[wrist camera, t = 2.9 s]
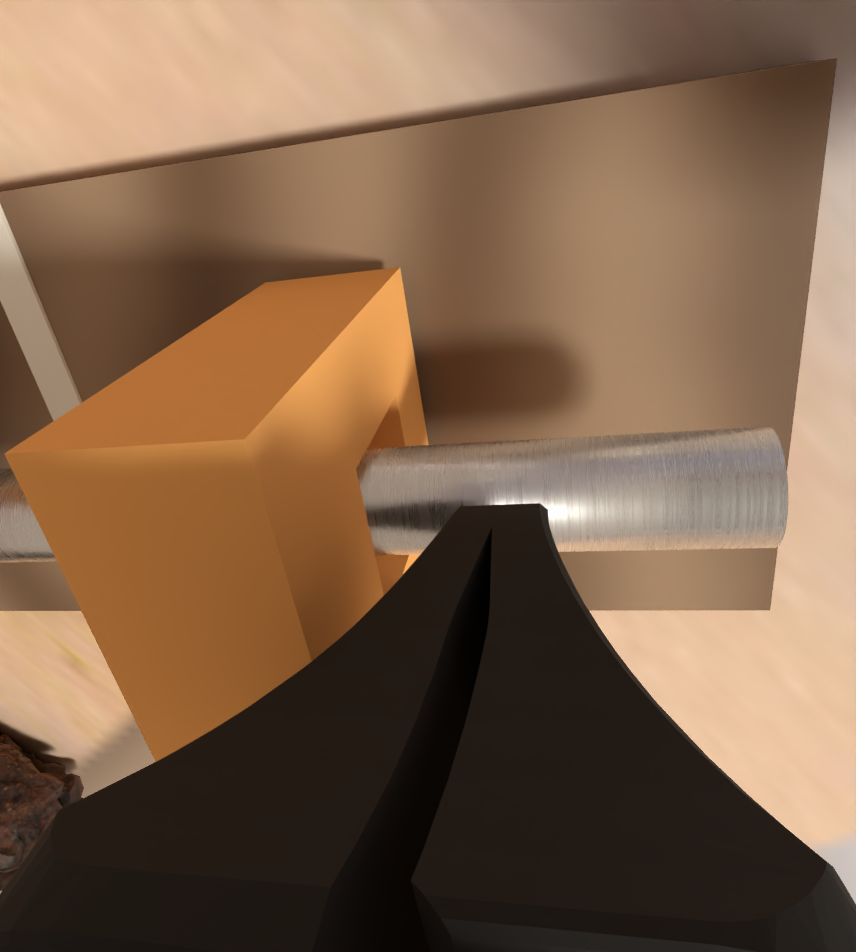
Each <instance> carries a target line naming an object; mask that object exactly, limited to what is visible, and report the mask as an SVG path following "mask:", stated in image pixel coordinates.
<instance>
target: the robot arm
mask: <svg viewBox="0 0 856 952" xmlns="http://www.w3.org/2000/svg"><path fill="white" fill-rule="evenodd" d="M0 952H856V904H855V902H854V901H853V899H852V898H851V896H850V894H849V892H848V891H847V889H846V887H845V886H844V884H843V882H842V881H841V879H840V877H839V876H838V874H837V872H836V871H835V869H834V868H833V866H831V865H830V864H829V863H827V862H826V861H825V860H824V859H823V858H821V857H820V856H819V855H818V854H817V853H815V852H814V851H813V850H812V849H810V848H809V847H808V846H807V845H806V844H804V843H803V842H802V841H801V840H800V839H798V838H797V837H796V836H795V835H794V834H792V833H791V832H790V831H789V830H788V829H786V828H785V827H784V826H783V825H782V824H781V823H779V822H778V821H777V820H776V819H775V818H774V817H773V816H771V815H770V814H769V813H768V812H767V811H766V810H765V809H763V808H762V807H761V806H760V805H759V804H758V803H757V802H755V801H754V800H753V799H752V798H751V797H750V796H749V795H748V794H747V793H745V792H744V791H743V790H742V789H741V788H740V787H739V786H738V785H737V784H736V783H735V782H734V781H733V780H732V779H731V778H730V777H729V776H727V775H726V774H725V773H724V772H723V771H722V770H721V769H720V768H719V767H718V766H717V765H716V764H715V763H714V762H713V761H712V760H711V759H709V758H708V757H707V756H706V755H705V753H704V752H703V751H702V750H701V749H700V748H699V747H698V746H697V745H696V744H695V743H694V742H693V741H692V740H691V739H690V738H689V736H688V735H687V734H686V733H685V732H684V731H683V730H682V729H681V728H680V727H679V726H678V725H677V724H676V723H675V722H674V721H673V720H672V718H671V717H670V716H669V715H668V714H667V713H666V712H665V711H664V710H663V709H662V708H661V707H660V706H659V705H658V704H657V702H656V701H655V700H654V699H653V698H652V697H651V695H650V694H649V693H648V692H647V690H646V689H645V688H644V687H643V686H642V684H641V683H640V682H639V681H638V679H637V678H636V677H635V676H634V675H633V673H632V672H631V671H630V670H629V668H628V667H627V666H626V664H625V663H624V662H623V660H622V659H621V658H620V656H619V655H618V654H617V652H616V651H615V650H614V648H613V647H612V645H611V644H610V642H609V641H608V640H607V638H606V637H605V635H604V634H603V632H602V631H601V629H600V628H599V626H598V625H597V623H596V621H595V620H594V618H593V617H592V615H591V613H590V612H589V610H588V608H587V607H586V605H585V604H584V602H583V600H582V598H581V596H580V595H579V593H578V591H577V589H576V587H575V585H574V583H573V581H572V579H571V577H570V576H569V574H568V572H567V570H566V568H565V566H564V564H563V561H562V559H561V557H560V555H559V552H558V550H557V547H556V544H555V542H554V539H553V536H552V533H551V530H550V526H549V518H548V509H546V508H545V507H544V506H543V505H542V504H540V503H532V504H505V505H478V506H460V507H459V508H458V509H457V510H456V511H455V512H454V514H453V515H452V516H451V517H450V519H449V520H448V521H447V522H446V524H445V525H444V526H443V527H442V529H441V530H440V531H439V532H438V534H437V535H436V536H435V537H434V539H433V540H432V541H431V542H430V544H429V545H428V546H427V547H426V548H425V550H424V551H423V552H422V553H421V555H420V556H419V557H418V558H417V559H416V560H415V561H414V563H413V564H412V565H411V566H410V567H409V568H408V569H407V571H406V572H405V573H404V574H403V575H402V576H401V577H400V579H399V580H398V581H397V582H396V583H395V584H394V585H393V586H392V587H391V589H390V590H389V591H388V592H387V593H386V594H385V595H384V596H383V597H382V598H381V599H380V600H379V601H378V602H377V603H376V604H375V605H374V606H373V607H372V608H371V609H370V610H369V611H368V612H367V613H366V614H365V615H364V616H363V617H362V618H361V619H360V620H359V621H358V622H357V623H356V624H355V625H354V626H353V627H352V628H351V629H350V630H348V631H347V632H346V633H345V634H344V635H343V636H342V637H341V638H339V639H338V640H337V641H336V642H335V643H333V644H332V645H331V646H330V647H329V648H327V649H326V650H325V651H324V652H323V653H321V654H320V655H319V656H318V657H317V658H315V659H314V660H313V661H312V662H310V663H309V664H308V665H306V666H305V667H304V668H303V669H301V670H300V671H298V672H297V673H296V674H294V675H293V676H291V677H290V678H289V679H287V680H286V681H284V682H283V683H282V684H280V685H279V686H277V687H276V688H274V689H273V690H272V691H270V692H269V693H267V694H266V695H265V696H263V697H262V698H260V699H259V700H258V701H256V702H255V703H253V704H252V705H251V706H249V707H248V708H246V709H244V710H243V711H241V712H240V713H238V714H237V715H235V716H233V717H232V718H230V719H229V720H227V721H225V722H224V723H222V724H221V725H219V726H217V727H216V728H214V729H213V730H211V731H209V732H208V733H206V734H204V735H202V736H201V737H199V738H197V739H196V740H194V741H192V742H190V743H189V744H187V745H185V746H184V747H182V748H180V749H178V750H177V751H175V752H173V753H171V754H169V755H168V756H166V757H164V758H162V759H160V760H158V761H157V762H155V763H153V764H151V765H149V766H147V767H145V768H143V769H141V770H139V771H137V772H136V773H133V774H131V775H129V776H127V777H125V778H123V779H121V780H119V781H117V782H115V783H113V784H111V785H109V786H107V787H106V788H103V789H102V790H99V791H98V792H95V793H94V794H92V795H90V796H88V797H86V798H84V799H82V800H79V801H77V802H75V803H73V804H71V805H69V806H67V807H64V808H62V809H60V810H59V811H58V813H57V814H56V815H55V817H54V818H53V819H52V821H51V822H50V823H49V825H48V826H47V828H46V829H45V831H44V832H43V833H42V835H41V836H40V838H39V839H38V841H37V842H36V844H35V845H34V846H33V848H32V849H31V851H30V852H29V854H28V855H27V856H26V858H25V859H24V861H23V862H22V864H21V865H20V866H19V868H18V869H17V871H16V872H15V874H14V875H13V877H12V878H11V879H10V881H9V882H8V884H7V885H6V887H5V888H4V889H3V891H2V892H1V894H0Z"/></svg>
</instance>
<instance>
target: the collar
mask: <svg viewBox="0 0 856 952" xmlns="http://www.w3.org/2000/svg"><path fill="white" fill-rule="evenodd" d="M422 445H429V444H428V438H427V432H426V425H425V419H424V413H423V407H422V400H421V394H420V388H419V382H418V375H417V369H416V363H415V357H414V350H413V344H412V338H411V332H410V325H409V319H408V313H407V307H406V300H405V294H404V288H403V281H402V275H401V269H400V267H397V268H388V269H379V270H371V271H362V272H353V273H344V274H336V275H327V276H318V277H309V278H300V279H292V280H283V281H274V282H265V283H264V284H262V285H261V286H259V287H258V288H256V289H255V290H253V291H252V292H250V293H249V294H247V295H246V296H244V297H243V298H241V299H240V300H238V301H236V302H235V303H233V304H232V305H230V306H229V307H227V308H226V309H224V310H223V311H221V312H220V313H218V314H217V315H215V316H214V317H212V318H211V319H209V320H207V321H206V322H204V323H203V324H201V325H200V326H198V327H197V328H195V329H194V330H192V331H191V332H189V333H188V334H186V335H185V336H183V337H182V338H180V339H178V340H177V341H175V342H174V343H172V344H171V345H169V346H168V347H166V348H165V349H163V350H162V351H160V352H159V353H157V354H156V355H154V356H153V357H151V358H149V359H148V360H146V361H145V362H143V363H142V364H140V365H139V366H137V367H136V368H134V369H133V370H131V371H130V372H128V373H127V374H125V375H124V376H122V377H120V378H119V379H117V380H116V381H114V382H113V383H111V384H110V385H108V386H107V387H105V388H104V389H102V390H101V391H99V392H98V393H96V394H95V395H93V396H91V397H90V398H88V399H87V400H85V401H84V402H82V403H81V404H79V405H78V406H76V407H75V408H73V409H72V410H70V411H69V412H67V413H66V414H64V415H62V416H61V417H59V418H58V419H56V420H55V421H53V422H52V423H50V424H49V425H47V426H46V427H44V428H43V429H41V430H40V431H38V432H37V433H35V434H33V435H32V436H30V437H29V438H27V439H26V440H24V441H23V442H21V443H20V444H18V445H17V446H15V447H14V448H12V449H11V450H9V451H8V452H6V453H4V455H5V457H6V459H7V461H8V463H9V465H10V467H11V469H12V471H13V473H14V475H15V477H16V479H17V481H18V483H19V485H20V487H21V489H22V491H23V493H24V495H25V497H26V499H27V501H28V503H29V505H30V507H31V509H32V511H33V513H34V515H35V517H36V520H37V522H38V524H39V526H40V528H41V530H42V532H43V534H44V536H45V538H46V540H47V542H48V544H49V546H50V548H51V550H52V552H53V554H54V556H55V558H56V560H57V562H58V564H59V566H60V568H61V570H62V572H63V574H64V576H65V578H66V580H67V582H68V584H69V586H70V589H71V591H72V593H73V595H74V597H75V599H76V601H77V603H78V605H79V607H80V609H81V611H82V613H83V615H84V617H85V619H86V621H87V623H88V625H89V627H90V629H91V631H92V633H93V635H94V637H95V639H96V641H97V643H98V645H99V647H100V649H101V651H102V653H103V655H104V658H105V660H106V662H107V664H108V666H109V668H110V670H111V672H112V674H113V676H114V678H115V680H116V682H117V684H118V686H119V688H120V690H121V692H122V694H123V696H124V698H125V700H126V702H127V704H128V706H129V708H130V710H131V712H132V714H133V716H134V718H135V720H136V722H137V724H138V727H139V729H140V731H141V733H142V735H143V737H144V739H145V741H146V743H147V745H148V747H149V748H150V751H151V753H152V755H153V757H154V759H155V761H156V762H157V761H158V760H160V759H162V758H164V757H166V756H168V755H169V754H171V753H173V752H175V751H177V750H178V749H180V748H182V747H184V746H185V745H187V744H189V743H190V742H192V741H194V740H196V739H197V738H199V737H201V736H202V735H204V734H206V733H208V732H209V731H211V730H213V729H214V728H216V727H217V726H219V725H221V724H222V723H224V722H225V721H227V720H229V719H230V718H232V717H233V716H235V715H237V714H238V713H240V712H241V711H243V710H244V709H246V708H248V707H249V706H251V705H252V704H253V703H255V702H256V701H258V700H259V699H260V698H262V697H263V696H265V695H266V694H267V693H269V692H270V691H272V690H273V689H274V688H276V687H277V686H279V685H280V684H282V683H283V682H284V681H286V680H287V679H289V678H290V677H291V676H293V675H294V674H296V673H297V672H298V671H300V670H301V669H303V668H304V667H305V666H306V665H308V664H309V663H310V662H312V661H313V660H314V659H315V658H317V657H318V656H319V655H320V654H321V653H323V652H324V651H325V650H326V649H327V648H329V647H330V646H331V645H332V644H333V643H335V642H336V641H337V640H338V639H339V638H341V637H342V636H343V635H344V634H345V633H346V632H347V631H348V630H350V629H351V628H352V627H353V626H354V625H355V624H356V623H357V622H358V621H359V620H360V619H361V618H362V617H363V616H364V615H365V614H366V613H367V612H368V611H369V610H370V609H371V608H372V607H373V606H374V605H375V604H376V603H377V602H378V601H379V600H380V599H381V598H382V597H383V596H384V595H385V594H386V593H387V592H388V591H389V590H390V589H391V587H392V586H393V585H394V584H395V583H396V582H397V581H398V580H399V579H400V577H401V576H402V575H403V574H404V573H405V572H406V571H407V569H408V568H409V567H410V566H411V565H412V564H413V563H414V561H415V560H416V559H417V558H418V557H419V556H420V555H375V553H374V548H373V544H372V539H371V535H370V530H369V526H368V521H367V516H366V512H365V507H364V503H363V498H362V494H361V489H360V485H359V480H358V476H357V471H356V468H357V466H358V464H359V463H360V461H361V459H362V457H363V455H364V453H365V451H366V450H367V448H385V447H404V446H422Z"/></svg>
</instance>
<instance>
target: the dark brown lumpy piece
mask: <svg viewBox="0 0 856 952" xmlns="http://www.w3.org/2000/svg"><path fill="white" fill-rule="evenodd" d="M83 789H84V788H83V785H82V782H81V779H80V776H77V775H74V774H67V775H66V774H65V767H62V766H60V765H57V764H55V763H48V764H44V763H42V762H41V761H40V760H36V759H35V756H34V755H32V754H28V753H23V749H22V748H20V747H19V746H18V745H17V744H15V743H14V742H13V741H12V739H11V738H10V737H9V736H7V735H6V734H3V735H0V891H3V889H4V888H5V887H6V885H7V884H8V882H9V881H10V879H11V878H12V877H13V875H14V874H15V872H16V871H17V869H18V868H19V866H20V865H21V864H22V862H23V861H24V859H25V858H26V856H27V855H28V854H29V852H30V851H31V849H32V848H33V846H34V845H35V844H36V842H37V841H38V839H39V838H40V836H41V835H42V833H43V832H44V831H45V829H46V828H47V826H48V825H49V823H50V822H51V821H52V819H53V818H54V817H55V815H56V814H57V813H58V811H59V810H60V809H62V808H64V807H67V806H69V805H71V804H73V803H75V802H77V801H79V800H82V799H83V798H81V795H82V792H83Z"/></svg>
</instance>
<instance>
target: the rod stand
mask: <svg viewBox="0 0 856 952" xmlns="http://www.w3.org/2000/svg"><path fill="white" fill-rule="evenodd" d="M836 60H837V59H829V60H820V61H813V62H806V63H800V64H794V65H788V66H781V67H775V68H769V69H763V70H756V71H750V72H744V73H738V74H731V75H725V76H719V77H713V78H707V79H700V80H694V81H688V82H682V83H675V84H669V85H663V86H657V87H650V88H644V89H638V90H632V91H625V92H619V93H613V94H607V95H600V96H594V97H588V98H582V99H575V100H569V101H563V102H557V103H550V104H544V105H538V106H532V107H525V108H519V109H513V110H507V111H500V112H494V113H488V114H482V115H475V116H469V117H463V118H457V119H450V120H444V121H438V122H432V123H425V124H419V125H413V126H407V127H401V128H394V129H388V130H382V131H376V132H369V133H363V134H357V135H351V136H344V137H338V138H332V139H326V140H319V141H313V142H307V143H301V144H294V145H288V146H282V147H276V148H269V149H263V150H257V151H251V152H244V153H238V154H232V155H226V156H219V157H213V158H207V159H201V160H194V161H188V162H182V163H176V164H169V165H163V166H157V167H151V168H144V169H138V170H132V171H126V172H119V173H113V174H107V175H101V176H95V177H88V178H82V179H76V180H70V181H63V182H57V183H51V184H45V185H38V186H32V187H26V188H20V189H13V190H7V191H1V192H0V611H81V609H80V607H79V605H78V603H77V601H76V599H75V597H74V595H73V593H72V591H71V589H70V586H69V584H68V582H67V580H66V578H65V576H64V574H63V572H62V570H61V568H60V566H59V564H58V562H57V560H56V558H55V556H54V554H53V552H52V550H51V548H50V546H49V544H48V542H47V540H46V538H45V536H44V534H43V532H42V530H41V528H40V526H39V524H38V522H37V520H36V517H35V515H34V513H33V511H32V509H31V507H30V505H29V503H28V501H27V499H26V497H25V495H24V493H23V491H22V489H21V487H20V485H19V483H18V481H17V479H16V477H15V475H14V473H13V471H12V469H11V467H10V465H9V463H8V461H7V459H6V457H5V455H4V453H6V452H8V451H9V450H11V449H12V448H14V447H15V446H17V445H18V444H20V443H21V442H23V441H24V440H26V439H27V438H29V437H30V436H32V435H33V434H35V433H37V432H38V431H40V430H41V429H43V428H44V427H46V426H47V425H49V424H50V423H52V422H53V421H55V420H56V419H58V418H59V417H61V416H62V415H64V414H66V413H67V412H69V411H70V410H72V409H73V408H75V407H76V406H78V405H79V404H81V403H82V402H84V401H85V400H87V399H88V398H90V397H91V396H93V395H95V394H96V393H98V392H99V391H101V390H102V389H104V388H105V387H107V386H108V385H110V384H111V383H113V382H114V381H116V380H117V379H119V378H120V377H122V376H124V375H125V374H127V373H128V372H130V371H131V370H133V369H134V368H136V367H137V366H139V365H140V364H142V363H143V362H145V361H146V360H148V359H149V358H151V357H153V356H154V355H156V354H157V353H159V352H160V351H162V350H163V349H165V348H166V347H168V346H169V345H171V344H172V343H174V342H175V341H177V340H178V339H180V338H182V337H183V336H185V335H186V334H188V333H189V332H191V331H192V330H194V329H195V328H197V327H198V326H200V325H201V324H203V323H204V322H206V321H207V320H209V319H211V318H212V317H214V316H215V315H217V314H218V313H220V312H221V311H223V310H224V309H226V308H227V307H229V306H230V305H232V304H233V303H235V302H236V301H238V300H240V299H241V298H243V297H244V296H246V295H247V294H249V293H250V292H252V291H253V290H255V289H256V288H258V287H259V286H261V285H262V284H264V283H265V282H274V281H283V280H292V279H300V278H309V277H318V276H327V275H336V274H344V273H353V272H362V271H371V270H379V269H388V268H397V267H400V269H401V275H402V281H403V288H404V294H405V300H406V307H407V313H408V319H409V325H410V332H411V338H412V344H413V350H414V357H415V363H416V369H417V375H418V382H419V388H420V394H421V400H422V407H423V413H424V419H425V425H426V432H427V438H428V444H429V445H422V446H404V447H385V448H367V450H366V451H365V453H364V455H363V457H362V459H361V461H360V463H359V464H358V466H357V468H356V471H357V476H358V480H359V485H360V489H361V494H362V498H363V503H364V507H365V512H366V516H367V521H368V526H369V530H370V535H371V539H372V544H373V548H374V553H375V555H421V553H422V552H423V551H424V550H425V548H426V547H427V546H428V545H429V544H430V542H431V541H432V540H433V539H434V537H435V536H436V535H437V534H438V532H439V531H440V530H441V529H442V527H443V526H444V525H445V524H446V522H447V521H448V520H449V519H450V517H451V516H452V515H453V514H454V512H455V511H456V510H457V509H458V508H459V507H460V506H478V505H505V504H532V503H540V504H542V505H543V506H544V507H545V508H546V509H548V518H549V526H550V530H551V533H552V536H553V539H554V542H555V544H556V547H557V550H558V552H559V555H560V557H561V559H562V561H563V564H564V566H565V568H566V570H567V572H568V574H569V576H570V577H571V579H572V581H573V583H574V585H575V587H576V589H577V591H578V593H579V595H580V596H581V598H582V600H583V602H584V604H585V605H586V607H587V608H588V610H770V606H771V598H772V590H773V581H774V573H775V565H776V557H777V548H778V546H779V545H780V543H781V541H782V539H783V536H784V533H785V529H786V523H787V515H788V481H787V466H788V457H789V449H790V441H791V432H792V424H793V416H794V408H795V399H796V391H797V383H798V375H799V366H800V358H801V350H802V342H803V333H804V325H805V317H806V308H807V300H808V292H809V284H810V275H811V267H812V259H813V251H814V242H815V234H816V226H817V217H818V209H819V201H820V193H821V184H822V176H823V168H824V160H825V151H826V143H827V135H828V127H829V118H830V110H831V102H832V93H833V85H834V77H835V69H836Z"/></svg>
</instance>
